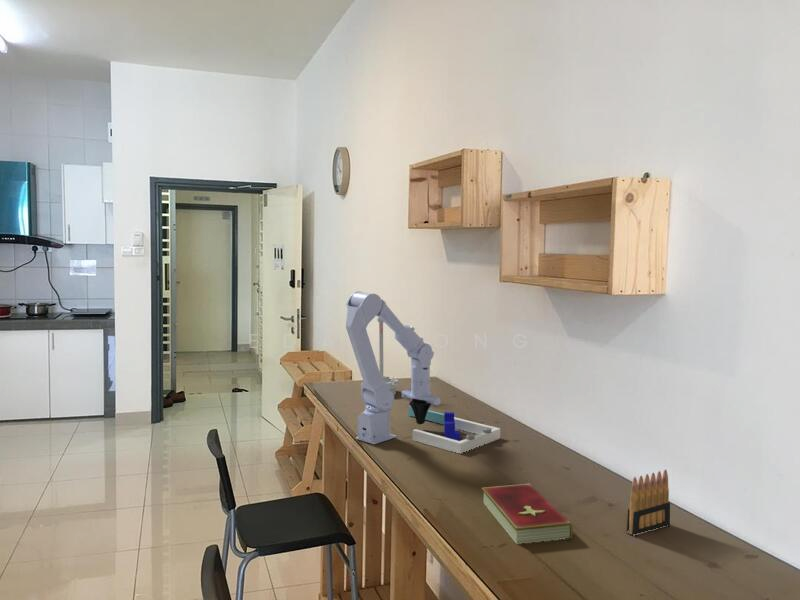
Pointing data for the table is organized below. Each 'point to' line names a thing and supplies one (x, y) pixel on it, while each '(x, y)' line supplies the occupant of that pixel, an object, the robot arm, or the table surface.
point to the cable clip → (450, 426)
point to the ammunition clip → (649, 503)
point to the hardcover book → (526, 514)
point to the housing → (472, 441)
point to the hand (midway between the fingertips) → (420, 423)
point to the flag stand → (391, 383)
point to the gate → (430, 416)
